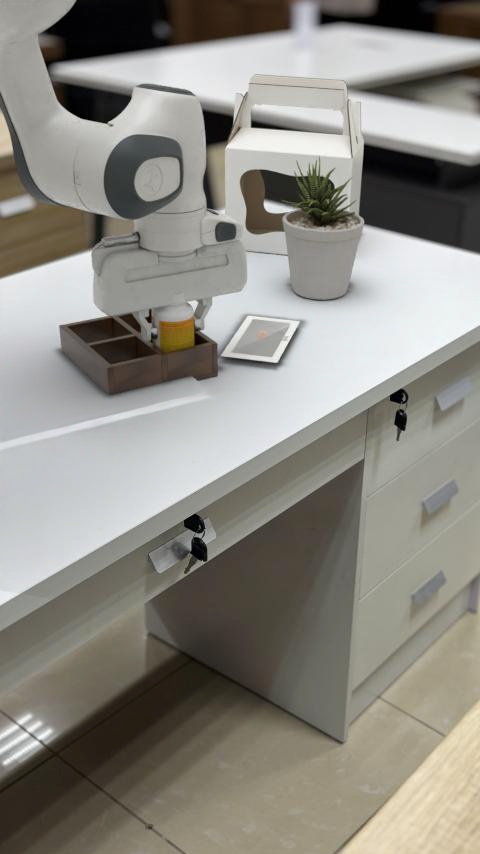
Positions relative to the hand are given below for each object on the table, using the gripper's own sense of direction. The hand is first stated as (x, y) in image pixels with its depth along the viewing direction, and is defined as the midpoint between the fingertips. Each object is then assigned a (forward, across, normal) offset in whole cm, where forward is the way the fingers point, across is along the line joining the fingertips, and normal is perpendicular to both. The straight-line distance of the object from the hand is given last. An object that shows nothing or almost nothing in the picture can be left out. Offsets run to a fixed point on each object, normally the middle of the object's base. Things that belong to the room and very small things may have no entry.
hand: (173, 334), depth 122 cm
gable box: (+5, +44, +38) cm, 58 cm away
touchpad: (+5, +15, +2) cm, 16 cm away
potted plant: (+5, +35, +16) cm, 38 cm away
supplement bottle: (+4, 0, 0) cm, 4 cm away
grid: (+5, -3, +4) cm, 7 cm away
